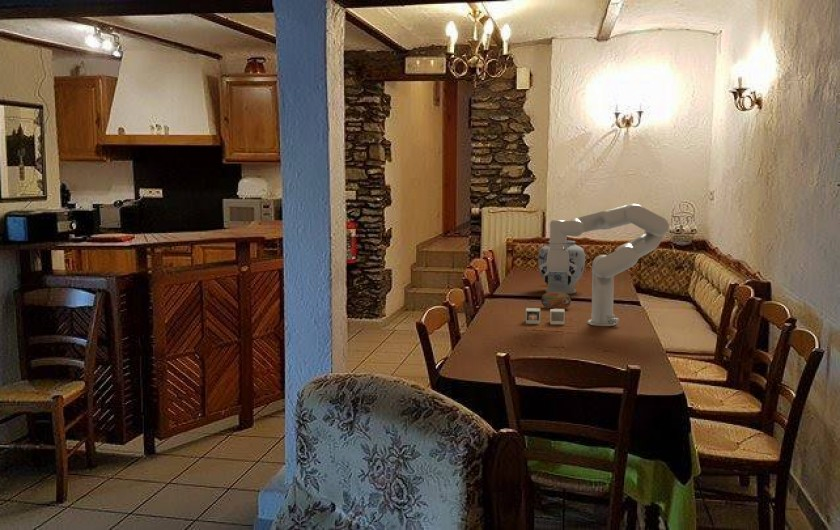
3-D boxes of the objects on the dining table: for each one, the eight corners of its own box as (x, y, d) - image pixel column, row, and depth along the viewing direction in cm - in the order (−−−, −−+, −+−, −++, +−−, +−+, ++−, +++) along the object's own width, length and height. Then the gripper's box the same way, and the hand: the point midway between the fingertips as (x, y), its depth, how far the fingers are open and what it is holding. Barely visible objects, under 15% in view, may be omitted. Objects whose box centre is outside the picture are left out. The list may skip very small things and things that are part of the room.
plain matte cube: (540, 321, 345) (540, 308, 344) (539, 323, 338) (540, 310, 338) (526, 320, 346) (526, 308, 345) (525, 323, 339) (525, 310, 339)
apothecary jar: (530, 289, 440) (530, 239, 436) (570, 287, 448) (570, 238, 444) (551, 296, 414) (552, 243, 411) (593, 293, 422) (594, 241, 419)
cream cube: (564, 321, 343) (564, 309, 342) (564, 324, 336) (564, 311, 336) (550, 321, 344) (550, 308, 343) (550, 324, 337) (550, 311, 337)
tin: (540, 307, 379) (541, 291, 378) (542, 306, 382) (543, 290, 381) (569, 310, 372) (569, 293, 371) (571, 309, 375) (571, 292, 374)
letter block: (537, 321, 344) (537, 313, 343) (537, 323, 340) (537, 314, 339) (528, 321, 344) (528, 312, 344) (528, 323, 340) (528, 314, 340)
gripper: (577, 246, 338) (576, 283, 340) (539, 246, 341) (538, 282, 343) (577, 247, 331) (577, 285, 333) (538, 247, 334) (538, 285, 336)
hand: (557, 284), depth 338 cm, fingers open, 9 cm apart
